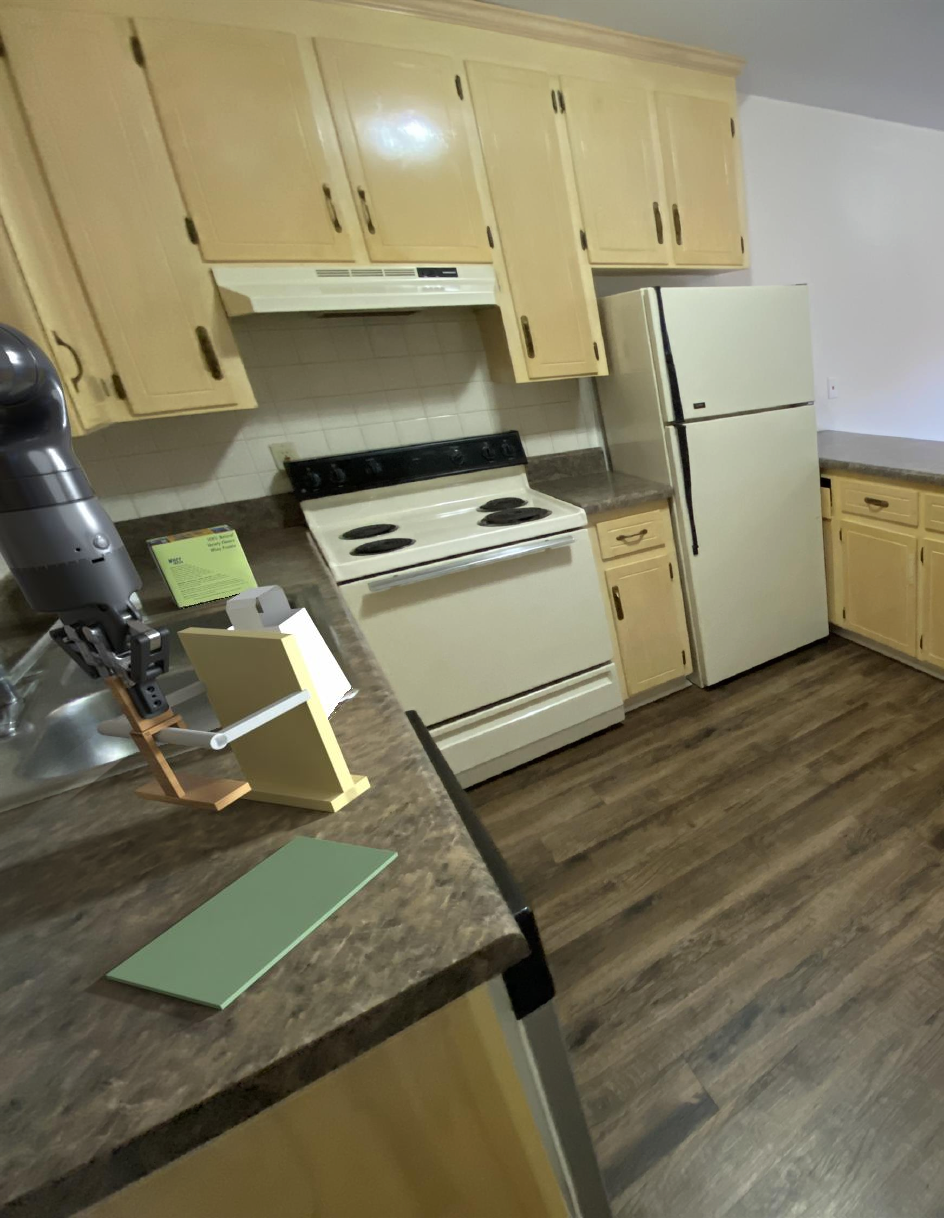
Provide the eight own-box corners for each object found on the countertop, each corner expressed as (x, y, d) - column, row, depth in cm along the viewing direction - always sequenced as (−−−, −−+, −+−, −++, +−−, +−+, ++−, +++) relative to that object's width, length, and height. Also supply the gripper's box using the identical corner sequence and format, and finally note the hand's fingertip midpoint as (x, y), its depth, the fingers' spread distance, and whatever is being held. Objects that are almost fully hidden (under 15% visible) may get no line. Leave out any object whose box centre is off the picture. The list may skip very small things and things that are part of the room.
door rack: (268, 863, 71) (180, 683, 63) (159, 843, 76) (64, 673, 67) (372, 787, 83) (310, 627, 75) (273, 773, 87) (204, 621, 79)
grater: (245, 737, 97) (187, 611, 89) (282, 702, 106) (233, 585, 99) (324, 724, 99) (273, 600, 91) (354, 691, 108) (310, 576, 101)
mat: (107, 979, 59) (104, 975, 58) (299, 839, 75) (297, 835, 74) (222, 1010, 55) (219, 1006, 55) (398, 855, 71) (396, 852, 71)
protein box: (260, 589, 164) (235, 529, 158) (179, 610, 153) (149, 546, 148) (250, 582, 171) (226, 524, 165) (172, 601, 160) (143, 539, 154)
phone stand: (218, 811, 68) (147, 685, 62) (137, 798, 72) (63, 676, 66) (252, 789, 72) (188, 666, 65) (173, 777, 75) (105, 659, 69)
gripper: (-37, 563, 59) (59, 728, 66) (64, 566, 56) (155, 740, 62) (68, 539, 66) (146, 691, 73) (164, 540, 62) (237, 700, 69)
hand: (150, 713), depth 67 cm, fingers closed on phone stand, 1 cm apart
